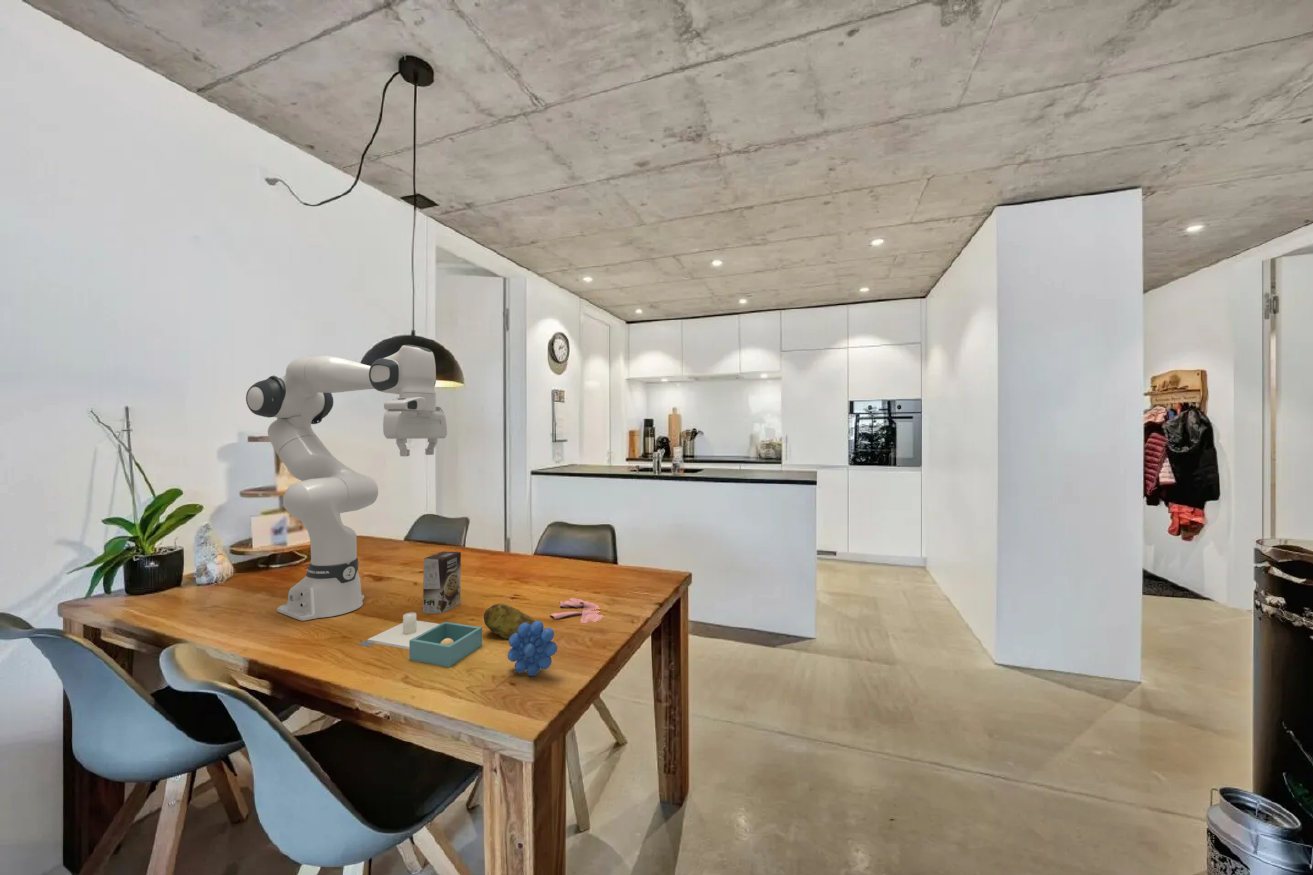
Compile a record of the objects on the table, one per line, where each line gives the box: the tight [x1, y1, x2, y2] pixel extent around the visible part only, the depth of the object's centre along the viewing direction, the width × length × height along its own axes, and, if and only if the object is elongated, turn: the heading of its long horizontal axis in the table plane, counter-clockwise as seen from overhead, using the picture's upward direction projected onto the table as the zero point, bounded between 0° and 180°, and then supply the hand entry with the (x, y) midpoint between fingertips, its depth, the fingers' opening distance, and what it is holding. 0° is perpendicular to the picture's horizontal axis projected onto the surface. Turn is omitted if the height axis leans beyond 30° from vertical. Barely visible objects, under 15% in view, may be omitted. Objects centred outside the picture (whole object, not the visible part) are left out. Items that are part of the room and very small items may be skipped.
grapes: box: [507, 619, 558, 677], centre depth 101 cm, size 12×7×12 cm, turn 75°
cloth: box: [549, 597, 605, 624], centre depth 137 cm, size 20×22×2 cm
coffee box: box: [422, 551, 462, 615], centre depth 137 cm, size 9×6×16 cm
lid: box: [366, 611, 441, 650], centre depth 118 cm, size 13×13×5 cm
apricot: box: [440, 638, 454, 645], centre depth 109 cm, size 3×3×3 cm
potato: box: [483, 603, 536, 640], centre depth 119 cm, size 8×13×8 cm, turn 68°
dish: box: [408, 621, 483, 668], centre depth 109 cm, size 11×11×5 cm
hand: (417, 455), depth 126 cm, fingers open, 8 cm apart
